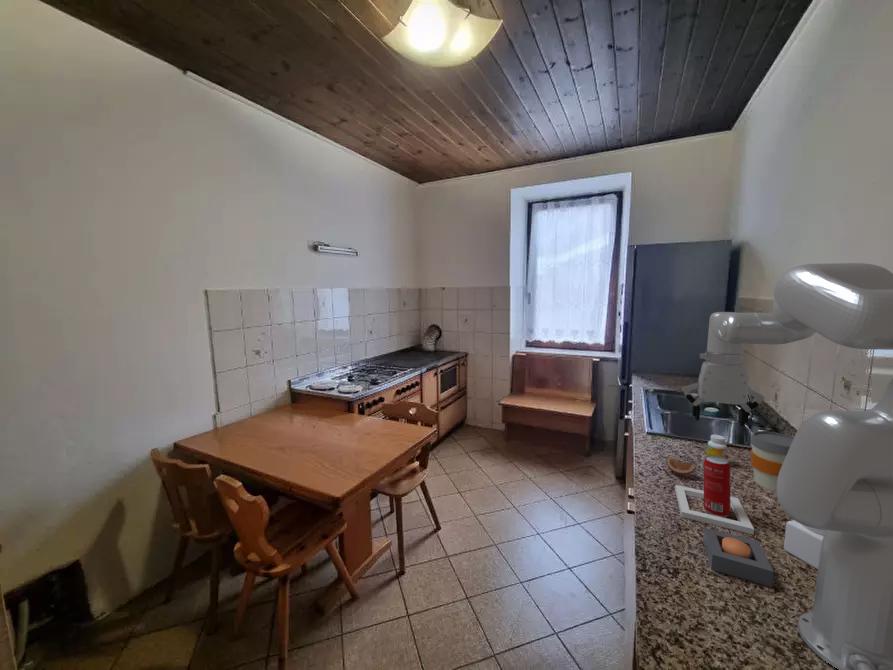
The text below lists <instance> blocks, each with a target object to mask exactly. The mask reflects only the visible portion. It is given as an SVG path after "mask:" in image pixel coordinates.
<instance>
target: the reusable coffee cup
mask: <svg viewBox="0 0 893 670" xmlns="http://www.w3.org/2000/svg"><path fill="white" fill-rule="evenodd" d="M794 437H795V436H791V435H787V434H783V433H779V432H774V431H767V430H764V431H763V430H759V431H754V432H752V433H751V439H750V444H751V447H752V448H751V449H750V461H751V467H752V468H753V480H754V482H755V483H756V484H757V485H759V486H761V487H763V488H765V489H767V490H771V491H774V492H777V491H776V484H777V478H778V475H779V472H780V469H781V467H782V465H783V462H784V460H785V458H786V455H787V453H788V451H789V448H790V446H791V444H792V441H793V439H794Z"/></svg>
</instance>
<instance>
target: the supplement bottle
mask: <svg viewBox="0 0 893 670" xmlns="http://www.w3.org/2000/svg"><path fill="white" fill-rule="evenodd" d="M706 447H707V448H706V456H719V457H722V458H725V459H727V452H728V451H727V450H728V446H727V444H726V438H725V436H722V435H719V434H711V435H710V440H708V441H707V446H706Z"/></svg>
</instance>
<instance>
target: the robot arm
mask: <svg viewBox="0 0 893 670" xmlns="http://www.w3.org/2000/svg"><path fill="white" fill-rule="evenodd" d="M773 298H774V301H773V303H772V311H773V312H735V311H734V312H733V311H716V312H713V313H711V315H710V316H709V321H708V332H707V333H708V335H707V344H706V345H707V346H706V351H705V352H703V353H701V352H700V353H699V359H704V360H705V361H703V362H702V364H701V368H700V370H699V375H698V382H695V383H690V384H688V385H684V386H683V387H681V390H682V392H683V394H684V396H685V398H686V399H687V400H688V401H689V402H690V403H691V404H692V408H691V409H692V410H691V416H692V417H694V419H695V421H697V422H698V421H700V418H701V417H700V416H701V415H700V413H701V406H700V404H701V403H703V402H704V401H705V402H711V403H717V404H727V405H736V406H737V405H739V406H740V407H741V408H739V411H738V419H737V422H738V425H740V426H741V427H743V428H745V427H746V424H748V423H749V416H750V415H749V414H750V413H751V412H752V410H755V409H756V408H757V407H759V405H760V404H761V403H762V402H763V400H764V399H765V395H762V394H761V393H759V392H757V391H755V390H753V389H751V388H749V376H748V369H747V366H746V365H743V361H744V353H745V352H744V350H745V345H769V346H770V345H776V346H778V345H785V344H791V343H794V342H798V341H802V340H806V339H808V338H811V337H813V336H814V335H815V334H816V333H817V334H819V335H820V336H822V337H823V338H825V339H827V340H829V341H831V342H833V343H835V344H837V345H839V346H843V347H845V348H851V349H860V350H884V351H885V350H889V351H890V350H891V351H893V272H892V271H890V270H888V269H887V268H885V267H882V266H881V265H876V264H871V263H864V262H863V263H861V262H847V263H846V262H843V263H842V262H841V263H839V262H838V263H837V262H836V263H807V264H801V265H798V266H795V267H792V268H790V269H788V270H787V271H786V272H784V273H783V274H782V275H781V276H780V277H779V278H778V280H777V281H776V283H775V285H774V289H773ZM693 390H697V391H696V394H697V395H696V396H695V397H693V395H691V391H693ZM749 395H750V396H752V397H753V400H752V401H750V402H748V398H749ZM747 402H748V403H747ZM793 437H794V439H793V441H792V444H791V446H790V448H789V451H788V453H787V455H786V458H785V460H784V462H783V465H782V467H781V469H780V472H779V475H778V478H777V484H776V491H775V492H776V497H777V500H778V503H779V505H780V507H781V509H782V510H783V511H784V513H785V514H786V515H787V516H788V517H790V518H791V519H792V520H795V521H796V522H798V523H800V524H802V525H805V526H808V527H811V528H815V529H822V530H827V531H826V532H825V534H824V537H823V540H822V545H821V552H820V559H819V566H818V569H817V573H816V574H817V576H816V583H815V584H816V585H815V592H814V598H813V607H812V612H805V613H803V614H801V615H800V616H798V622H797V630H798V632H799V635H800V638H802V640H803V641H804V642H805V644H806V645H807V646H808V647H809V648H810V649H811V651H813V652H814V653H815V655H817V656H818V657H819V658H820V659H822V660H823V661H824V662H825V661H826V662H825V663H826V664H828V663H829V664H831V665H832V666H833V667H832V666H831V665H830V666H831V667H832V668H834V667H835V668H837V669H839V670H893V378H891V380H890V381H889V382H888V384H886V387H885V389H884V392H883V394H882V395H881V396H880V398H879V400H878V401H877V403H875V405H874V406H873V407H871V408H870V409H867V410H825V411H820V412H817V413H815V414H813V415H811V416H808V417H807V418H806V419H805V420H804V421H802V423H801V424H800V426H799V427H798V429H797V431H796V432H795V435H794V436H793ZM829 664H828V665H829ZM835 668H834V669H835Z"/></svg>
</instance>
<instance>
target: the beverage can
mask: <svg viewBox="0 0 893 670" xmlns="http://www.w3.org/2000/svg"><path fill="white" fill-rule="evenodd" d="M731 469H732V468H731V465H730V462H729V460H728V459H727V458H726V459H725V458H722V457H719V456H707V455H706V456H705V458H704V460H703V491H704V499H703V509H704V510H705V511H706V512H707V514H710V515H714V516H718V517H722V518H727V517H728V516H730V515H731V505H730V496H731Z"/></svg>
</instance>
